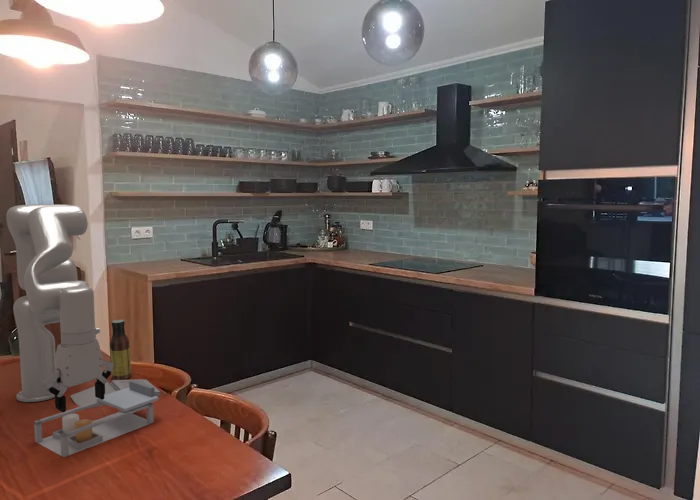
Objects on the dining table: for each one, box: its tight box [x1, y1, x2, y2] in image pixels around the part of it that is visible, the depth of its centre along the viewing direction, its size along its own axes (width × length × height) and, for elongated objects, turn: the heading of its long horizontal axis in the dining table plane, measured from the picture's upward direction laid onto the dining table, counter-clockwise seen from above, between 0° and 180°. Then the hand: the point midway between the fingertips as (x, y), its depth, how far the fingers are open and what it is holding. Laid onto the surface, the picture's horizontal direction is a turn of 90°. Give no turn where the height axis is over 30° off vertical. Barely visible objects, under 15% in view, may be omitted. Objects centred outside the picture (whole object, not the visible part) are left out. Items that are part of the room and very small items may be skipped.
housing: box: [33, 401, 155, 458], centre depth 140 cm, size 14×24×6 cm, turn 145°
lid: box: [96, 379, 160, 412], centre depth 147 cm, size 13×10×3 cm
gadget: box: [70, 378, 162, 411], centre depth 167 cm, size 23×15×4 cm, turn 128°
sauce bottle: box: [109, 319, 132, 380], centre depth 183 cm, size 6×6×20 cm
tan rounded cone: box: [75, 418, 93, 443], centre depth 134 cm, size 4×4×5 cm
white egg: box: [61, 413, 80, 435], centre depth 137 cm, size 4×4×5 cm
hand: (81, 404), depth 134 cm, fingers open, 9 cm apart
